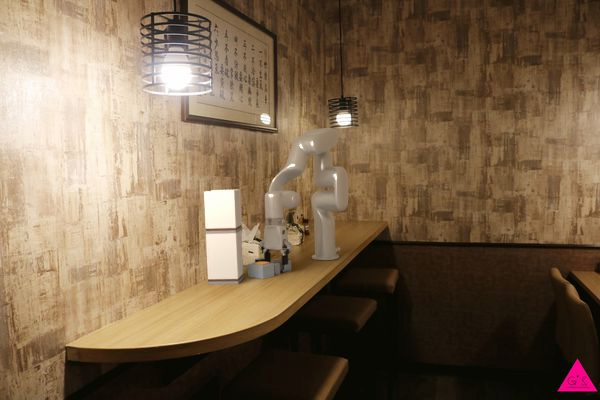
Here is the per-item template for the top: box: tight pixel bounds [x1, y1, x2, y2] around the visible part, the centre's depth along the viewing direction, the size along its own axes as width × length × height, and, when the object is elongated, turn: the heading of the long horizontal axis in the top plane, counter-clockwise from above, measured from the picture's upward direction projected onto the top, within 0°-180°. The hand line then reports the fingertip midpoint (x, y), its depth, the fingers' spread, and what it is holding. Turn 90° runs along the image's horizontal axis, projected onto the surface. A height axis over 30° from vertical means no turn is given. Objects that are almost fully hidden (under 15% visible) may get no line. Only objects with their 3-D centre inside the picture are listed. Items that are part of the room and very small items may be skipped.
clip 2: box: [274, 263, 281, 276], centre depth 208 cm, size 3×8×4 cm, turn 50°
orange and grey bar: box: [253, 258, 291, 271], centre depth 209 cm, size 17×5×5 cm, turn 140°
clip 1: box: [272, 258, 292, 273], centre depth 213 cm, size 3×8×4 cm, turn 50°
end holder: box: [247, 261, 275, 280], centre depth 204 cm, size 6×8×5 cm
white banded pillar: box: [203, 188, 245, 286], centre depth 196 cm, size 11×11×35 cm
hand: (276, 263), depth 211 cm, fingers open, 9 cm apart
